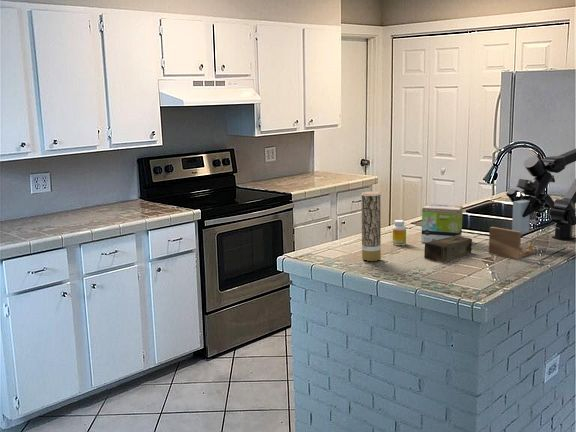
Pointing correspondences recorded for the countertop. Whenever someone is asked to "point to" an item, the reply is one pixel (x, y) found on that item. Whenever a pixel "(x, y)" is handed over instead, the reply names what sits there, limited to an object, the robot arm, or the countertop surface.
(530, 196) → the robot arm
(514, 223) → the grey block
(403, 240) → the supplement bottle
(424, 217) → the tea box
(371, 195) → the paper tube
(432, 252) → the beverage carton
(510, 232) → the wooden knob panel
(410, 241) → the countertop surface
